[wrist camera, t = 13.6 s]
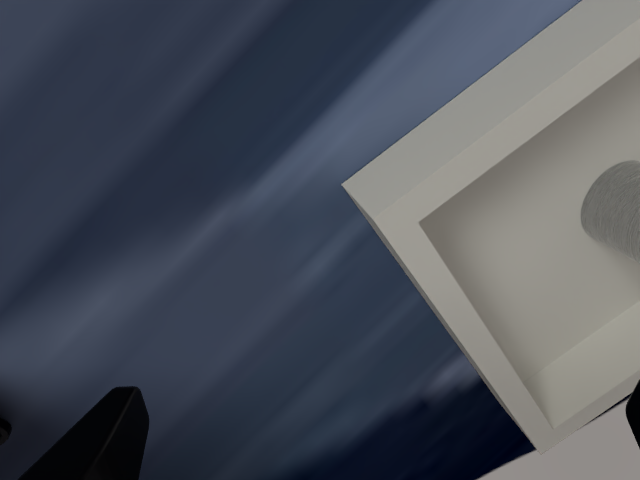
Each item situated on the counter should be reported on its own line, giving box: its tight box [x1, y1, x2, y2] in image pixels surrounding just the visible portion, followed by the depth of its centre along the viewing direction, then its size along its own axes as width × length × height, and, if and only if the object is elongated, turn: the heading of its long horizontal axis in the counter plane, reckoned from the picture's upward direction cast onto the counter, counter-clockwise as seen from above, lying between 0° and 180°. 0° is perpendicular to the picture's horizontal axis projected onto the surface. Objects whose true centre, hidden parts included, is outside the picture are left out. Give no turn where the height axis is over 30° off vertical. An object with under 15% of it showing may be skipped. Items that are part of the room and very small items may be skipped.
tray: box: [341, 0, 640, 454], centre depth 20 cm, size 17×17×4 cm
